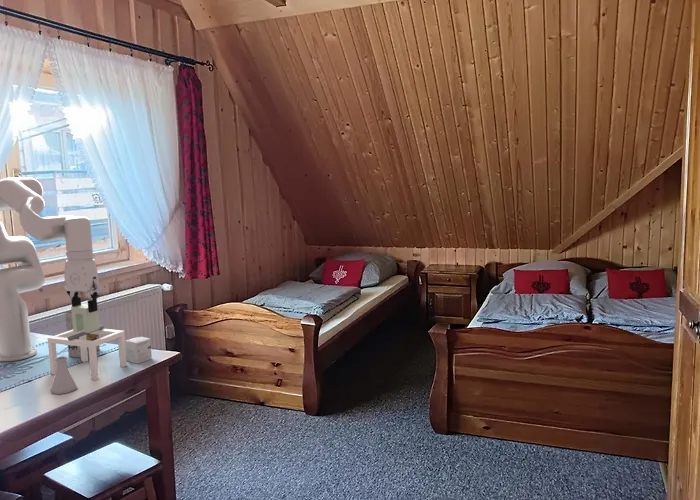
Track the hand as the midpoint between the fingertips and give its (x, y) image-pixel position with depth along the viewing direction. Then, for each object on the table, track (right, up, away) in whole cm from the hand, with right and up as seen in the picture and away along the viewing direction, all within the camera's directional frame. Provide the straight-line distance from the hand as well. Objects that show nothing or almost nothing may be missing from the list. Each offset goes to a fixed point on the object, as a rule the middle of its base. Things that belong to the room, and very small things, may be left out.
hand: (85, 310), depth 181 cm
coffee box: (-10, -18, +20) cm, 28 cm away
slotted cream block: (0, -6, +1) cm, 7 cm away
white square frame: (0, -20, +3) cm, 20 cm away
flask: (0, -22, -14) cm, 27 cm away
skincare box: (+13, -19, +12) cm, 26 cm away
